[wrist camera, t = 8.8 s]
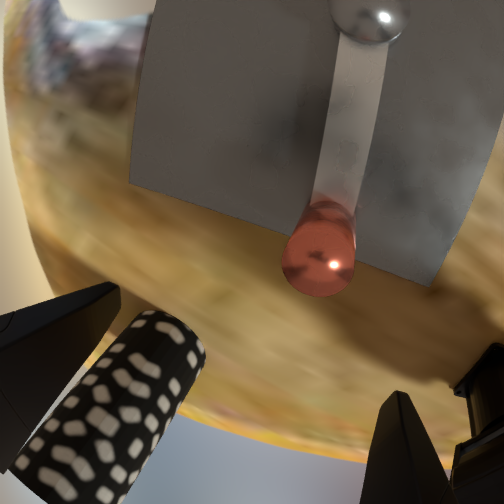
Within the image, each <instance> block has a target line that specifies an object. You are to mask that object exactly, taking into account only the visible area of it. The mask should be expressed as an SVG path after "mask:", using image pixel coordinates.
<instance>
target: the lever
mask: <svg viewBox="0 0 504 504" xmlns="http://www.w3.org/2000/svg"><path fill="white" fill-rule="evenodd" d="M327 5H328V8H329V11H330V15H331V18H332V21H333V24H334V26H335V28H336V30H337V32H338V33H339V34H340V39H339V46H338V53H337V59H336V66H335V72H334V78H333V84H332V90H331V96H330V102H329V108H328V114H327V119H326V125H325V130H324V136H323V141H322V147H321V152H320V157H319V162H318V167H317V172H316V177H315V182H314V187H313V192H312V197H311V200H310V201H309V202H308V203H307V204H306V206H305V208H304V210H303V212H302V214H301V216H300V219H299V221H298V223H297V225H296V227H295V229H294V231H293V233H292V235H291V237H290V239H289V242H288V244H287V246H286V248H285V250H284V252H283V255H282V269H283V273H284V275H285V277H286V279H287V280H288V282H289V283H290V284H291V285H292V286H293V287H294V288H296V289H297V290H298V291H300V292H302V293H304V294H307V295H310V296H315V297H325V296H330V295H334V294H336V293H338V292H340V291H341V290H343V289H344V288H345V287H346V286H347V285H348V284H349V282H350V281H351V279H352V276H353V273H354V264H355V242H356V215H355V207H356V203H357V199H358V195H359V191H360V187H361V183H362V179H363V175H364V171H365V167H366V162H367V158H368V154H369V149H370V145H371V140H372V135H373V131H374V126H375V121H376V116H377V111H378V106H379V100H380V95H381V89H382V84H383V78H384V72H385V65H386V59H387V52H388V46H389V45H391V44H392V43H393V42H395V41H396V39H397V38H398V37H399V35H400V34H401V33H402V31H403V30H404V28H405V27H406V26H407V24H408V22H409V19H410V15H411V5H410V1H409V0H327Z"/></svg>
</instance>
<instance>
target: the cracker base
mask: <svg viewBox="0 0 504 504" xmlns="http://www.w3.org/2000/svg"><path fill="white" fill-rule="evenodd" d="M409 1H410V5H411V15H410V19H409V22H408V24H407V26H406V27H405V28H404V30H403V31H402V33H401V34H400V35H399V37H398V38H397V39H396V41H395V42H393V43H392V44H391V45H389V46H388V52H387V59H386V65H385V72H384V78H383V84H382V89H381V95H380V100H379V106H378V111H377V116H376V121H375V126H374V131H373V135H372V140H371V145H370V149H369V154H368V158H367V162H366V167H365V171H364V175H363V179H362V183H361V187H360V191H359V195H358V199H357V203H356V207H355V215H356V242H355V260H357V261H360V262H363V263H365V264H368V265H371V266H373V267H376V268H379V269H381V270H384V271H387V272H389V273H392V274H395V275H397V276H400V277H403V278H405V279H408V280H411V281H413V282H416V283H419V284H421V285H424V286H426V287H429V286H430V285H431V283H432V281H433V279H434V278H435V276H436V274H437V272H438V270H439V269H440V267H441V265H442V263H443V261H444V259H445V257H446V255H447V253H448V252H449V250H450V248H451V246H452V244H453V242H454V240H455V238H456V236H457V233H458V231H459V229H460V227H461V225H462V223H463V221H464V219H465V216H466V214H467V212H468V210H469V207H470V205H471V203H472V201H473V198H474V196H475V193H476V191H477V189H478V186H479V184H480V181H481V179H482V176H483V173H484V171H485V168H486V165H487V163H488V160H489V157H490V154H491V152H492V149H493V146H494V143H495V140H496V137H497V133H498V130H499V127H500V124H501V120H502V117H503V113H504V0H409ZM339 39H340V34H339V33H338V32H337V30H336V28H335V26H334V24H333V21H332V18H331V15H330V11H329V8H328V5H327V0H157V1H156V5H155V9H154V13H153V17H152V22H151V26H150V31H149V36H148V40H147V45H146V50H145V56H144V61H143V67H142V73H141V79H140V85H139V92H138V99H137V106H136V113H135V122H134V130H133V140H132V150H131V162H130V175H129V183H131V184H134V185H137V186H140V187H143V188H146V189H150V190H153V191H156V192H159V193H162V194H165V195H168V196H171V197H174V198H178V199H181V200H184V201H187V202H190V203H193V204H196V205H199V206H202V207H205V208H208V209H211V210H214V211H217V212H220V213H223V214H226V215H229V216H232V217H235V218H238V219H241V220H244V221H247V222H250V223H253V224H255V225H258V226H261V227H264V228H267V229H270V230H273V231H276V232H279V233H282V234H284V235H287V236H290V237H291V235H292V233H293V231H294V229H295V227H296V225H297V223H298V221H299V219H300V216H301V214H302V212H303V210H304V208H305V206H306V204H307V203H308V202H309V201H310V200H311V197H312V192H313V187H314V182H315V177H316V172H317V167H318V162H319V157H320V152H321V147H322V141H323V136H324V130H325V125H326V119H327V114H328V108H329V102H330V96H331V90H332V84H333V78H334V72H335V66H336V59H337V53H338V46H339Z"/></svg>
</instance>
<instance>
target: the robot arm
mask: <svg viewBox="0 0 504 504" xmlns="http://www.w3.org/2000/svg"><path fill="white" fill-rule="evenodd" d="M120 308H121V293H120V287H119V286H118V285H116V284H114V283H112V282H110V281H108V282H104V283H101V284H98V285H94V286H91V287H88V288H85V289H82V290H78V291H75V292H72V293H69V294H66V295H63V296H60V297H56V298H54V299H50V300H47V301H44V302H41V303H38V304H35V305H32V306H28V307H25V308H22V309H19V310H16V311H13V312H10V313H7V314H3V315H0V473H2V474H4V473H5V472H6V471H7V469H8V467H9V466H10V464H11V463H12V461H13V460H14V459H15V457H16V456H17V454H18V453H19V451H20V450H21V448H22V447H23V445H24V444H25V442H26V441H27V439H28V438H29V437H30V435H31V433H32V432H33V431H34V429H35V428H36V426H37V425H38V424H39V422H40V421H41V419H42V418H43V417H44V415H45V414H46V413H47V411H48V410H49V408H50V407H51V406H52V404H53V403H54V402H55V400H56V399H57V397H58V396H59V395H60V394H61V392H62V391H63V390H64V388H65V387H66V385H67V384H68V383H69V382H70V380H71V379H72V378H73V376H74V375H75V374H76V372H77V371H78V370H79V369H80V367H81V366H82V365H83V363H84V362H85V361H86V360H87V358H88V357H89V356H90V355H91V353H92V352H93V351H94V349H95V348H96V347H97V345H98V344H99V342H100V341H101V339H102V338H103V336H104V334H105V333H106V331H107V330H108V328H109V327H110V325H111V323H112V322H113V320H114V319H115V317H116V316H117V314H118V313H119V311H120ZM453 392H454V395H455V396H459V397H463V398H466V401H467V407H468V414H469V421H470V428H471V436H472V438H471V439H469V440H467V441H465V442H463V443H460V444H458V445H456V447H455V453H454V459H453V465H452V471H451V476H450V481H449V480H448V478H447V476H446V473H445V471H444V469H443V466H442V464H441V462H440V460H439V457H438V455H437V453H436V451H435V449H434V447H433V444H432V442H431V440H430V438H429V436H428V434H427V432H426V429H425V427H424V425H423V423H422V421H421V419H420V417H419V415H418V413H417V411H416V409H415V407H414V405H413V403H412V401H411V399H410V397H409V395H408V394H407V393H405V392H402V391H398V390H396V391H394V392H393V393H392V394H391V395H390V396H389V398H388V399H387V400H386V401H385V402H384V403H383V404H382V406H381V408H380V410H379V414H378V419H377V423H376V427H375V431H374V435H373V439H372V443H371V446H370V450H369V455H368V461H367V467H366V473H365V479H364V483H363V489H362V494H361V498H360V503H359V504H504V345H502V344H499V343H494V344H492V345H491V346H490V347H489V349H488V350H487V351H486V352H485V354H484V355H483V356H482V357H481V358H480V360H479V361H478V362H477V363H476V364H475V366H474V367H473V368H472V369H471V370H470V371H469V373H468V374H467V375H466V376H465V377H464V378H463V379H462V380H461V382H460V383H459V384H458V385H457V386H456V387H455V388H454V389H453Z"/></svg>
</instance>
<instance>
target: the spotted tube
mask: <svg viewBox="0 0 504 504" xmlns="http://www.w3.org/2000/svg"><path fill="white" fill-rule="evenodd" d="M205 361H206V355H205V350H204V348H203V345H202V343H201V342H200V340H199V339H198V337H197V336H196V335H195V334H194V332H193V331H192V330H191V329H190V328H188V327H187V326H186V325H185V324H184V323H182V322H181V321H180V320H178V319H176V318H174V317H173V316H171V315H168V314H166V313H163V312H159V311H144V312H142V313H140V314H139V315H138V316H137V317H136V318H135V319H134V320H133V321H132V322H131V323H130V324H129V325H128V326H127V327H126V328H125V330H124V331H123V332H122V333H121V334H120V335H119V336H118V337H117V338H116V339H115V341H114V342H113V343H112V344H111V345H110V346H109V347H108V348H107V349H106V351H105V352H104V353H103V354H102V355H101V356H100V357H99V358H98V360H97V361H96V362H95V363H94V364H93V365H92V366H91V368H90V369H89V370H88V371H87V372H86V373H85V374H84V376H83V377H82V378H81V379H80V380H79V381H78V382H77V384H76V385H75V386H74V387H73V388H72V389H71V390H70V392H69V393H68V394H67V395H66V396H65V397H64V399H63V400H62V401H61V402H60V403H59V405H58V406H57V407H56V408H55V409H54V410H53V412H52V413H51V414H50V415H49V416H48V418H47V419H46V420H45V421H44V422H43V423H42V425H41V426H40V427H39V428H38V430H37V431H36V432H35V433H34V434H33V436H32V437H31V438H30V439H29V440H28V442H27V443H26V444H25V446H24V447H23V448H22V449H21V450H20V452H19V453H18V454H17V456H16V457H15V459H14V460H13V461H12V463H11V464H10V466H9V467H8V469H9V471H11V473H12V474H14V475H15V476H16V477H17V478H18V479H19V480H20V481H21V482H22V483H23V484H24V485H25V486H27V487H28V488H29V489H30V490H31V491H33V492H34V493H35V494H36V495H37V496H39V497H40V498H41V499H42V500H44V501H45V502H46V503H48V504H121V503H122V501H123V499H124V498H125V496H126V494H127V493H128V491H129V490H130V488H131V486H132V485H133V483H134V481H135V480H136V478H137V476H138V475H139V473H140V472H141V470H142V468H143V467H144V465H145V463H146V462H147V460H148V459H149V457H150V455H151V454H152V452H153V450H154V449H155V447H156V445H157V444H158V442H159V440H160V439H161V437H162V435H163V434H164V432H165V430H166V429H167V427H168V425H169V424H170V422H171V420H172V419H173V417H174V415H175V414H176V412H177V410H178V409H179V407H180V405H181V404H182V402H183V400H184V399H185V397H186V395H187V394H188V392H189V390H190V388H191V387H192V385H193V383H194V382H195V380H196V378H197V377H198V375H199V373H200V372H201V370H202V368H203V366H204V364H205Z"/></svg>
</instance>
